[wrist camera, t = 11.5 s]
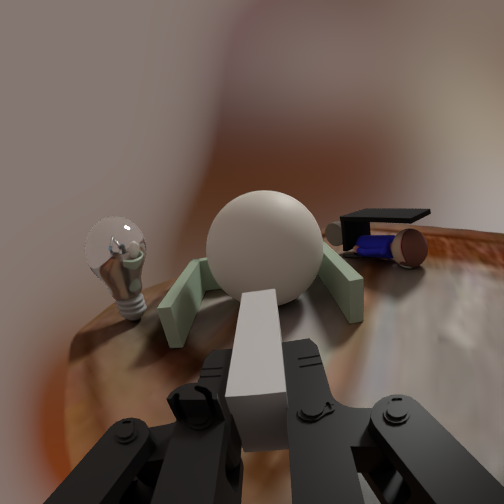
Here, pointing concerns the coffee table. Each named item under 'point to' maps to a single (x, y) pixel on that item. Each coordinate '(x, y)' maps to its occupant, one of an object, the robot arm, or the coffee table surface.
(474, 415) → the coffee table surface
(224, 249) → the ball
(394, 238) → the figurine character
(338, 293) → the green u-shaped channel
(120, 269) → the light bulb
